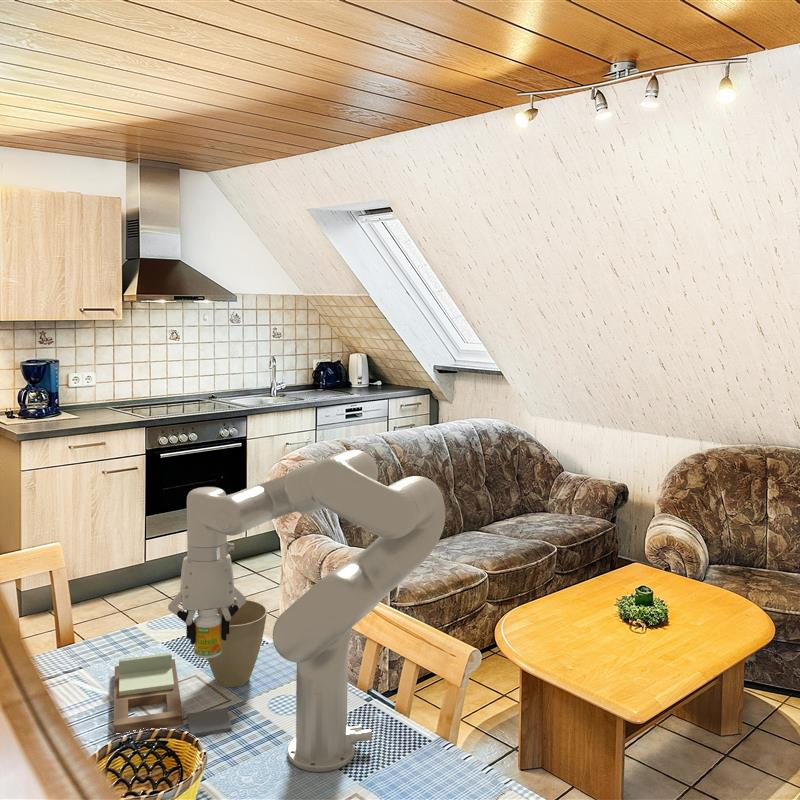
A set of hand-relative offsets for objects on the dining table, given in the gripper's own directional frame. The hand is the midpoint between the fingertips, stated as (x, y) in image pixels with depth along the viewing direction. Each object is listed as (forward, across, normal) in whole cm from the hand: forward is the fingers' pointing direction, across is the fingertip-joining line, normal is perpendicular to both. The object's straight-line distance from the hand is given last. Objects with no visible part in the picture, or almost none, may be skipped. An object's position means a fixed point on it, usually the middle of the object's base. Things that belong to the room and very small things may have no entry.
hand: (208, 638), depth 157 cm
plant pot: (+18, -7, -17) cm, 26 cm away
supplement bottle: (+3, 0, 0) cm, 3 cm away
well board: (+18, +12, -14) cm, 25 cm away
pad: (+18, 0, 0) cm, 18 cm away
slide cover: (+16, +12, -17) cm, 26 cm away
